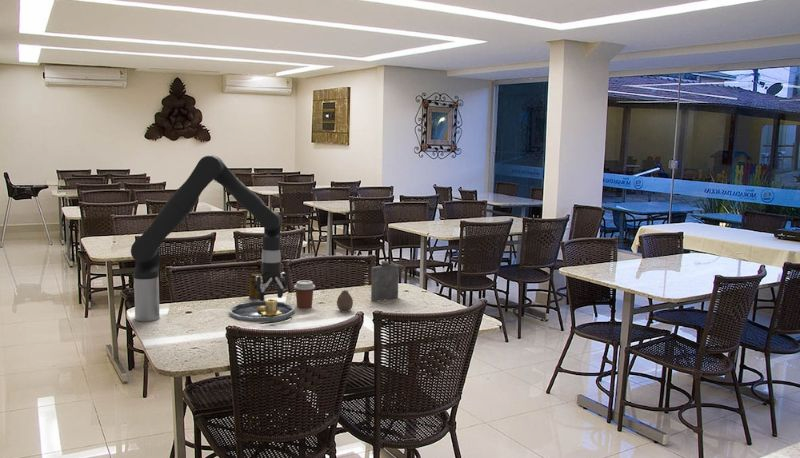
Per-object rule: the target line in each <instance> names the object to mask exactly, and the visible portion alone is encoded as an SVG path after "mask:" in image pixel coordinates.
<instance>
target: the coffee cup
mask: <svg viewBox="0 0 800 458" xmlns="http://www.w3.org/2000/svg"><path fill="white" fill-rule="evenodd" d="M293 288H294V289H295V298H296V307H297V308H299V309H312V308H313V299H314V289H315V288H316V285H315V284H314V282H313V281H312V280H305V279H304V280H298V281H296V284H294V285H293Z"/></svg>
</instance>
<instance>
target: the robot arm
mask: <svg viewBox="0 0 800 458" xmlns="http://www.w3.org/2000/svg"><path fill="white" fill-rule="evenodd" d="M212 181H215V182H217V183H218V184H220V185H221V186H222V187H223V188H224V189H225V190H227V192H228V193H229V194H230V195H231V196H232V197H233V198H234V199H235V200H236V202H238V203H239V205H240V206H242V208H243V209H245V210H246V211H247V212H249V214H251V215H252V216H253V218H254V219H255V220H256V222H258V223H259V224H260V225H261V226H262V227H263V228H264V229H263V230H264V231H263V232H264V233H263V237H262V250H261V251H262V252H261V275H262V276H255V283H254V290H256V291H258V292H259V299H258V300H259V301H265V290H266V289H267V288H268V286H275V285H276V287H277V298H278V299H281V298H282V297H283V295H284V293H283V292H284V288H287V287H288V274H287V272H284V271H281V270H282V269H281V262H282V261H281V260H282V259H281V258H282V256H281V229H282V216H281V215H280V213H279V212H278V211H276V210H271V209H270V208H269V207H268V206H267V205H266V204H265V202H264V200H262V198H260V197H259V196H258V195H257V194H256V193H255V192H253V190H251V189H250V188H249V187H247V186H246V185H245V184H244V183H243V182H242V181H241V180H240V179H238V177H236V176H235V174H234V173H233V172H232V171H231V170H230V169H229V168H228V166H227V165H226V164H225V163H224V162H223V160H222V159H221V158H220V157H218V156H217V155H213V154H212V155H210V154H209V155H205V156H203V157H201V158H200V160H199V161H198V162H197V164H196V166H195V167H194V169H193V170H192V172H191V173H190V175H189V176H188V178H187V179H186V180H185V181H184V182H183V183H182V184H181V186H179V188H178V189H177V190H176V191H175V192H174V193H173V194H172V195H171V197H170V198H169V199H168V200H167V202H166V203H165V204H164V205H163V207H162V208H161V209H160V211H159V212H158V214H157V215H156V216H155V217H154V219H153V222H152V223H151V224H150V225H149V226H148V228H147V229H146V230H145V231H144V232H143V233H142V234H141V235H140V236H139V237H138V238H137V239H136V240H135V241H134V242H133V243H132V245H131V247H130V255H131V257H132V258H133V259H134V261H135V267H134V270H133V291H134V295H133V296H134V320H135V321H137V322H154V321H157V320H159V319H160V285H159V283H160V282H159V280H160V279H159V271H160V246H161V244H162V243H163V242H164V240H165V239H166V238H167V237H168V236H169V235H170V234H171V233H172V232H173V231H175V229H176V228H178V227H179V226H180V225H181V223H183V221H184V220H185V219H186V218H187V217H188V215H189V214H190V213H191V212H192V210H193V208H194V207H195V205H196V204H197V202H198V200H199V198H200V196H201V194H202V192H203V191H204V190H205V189H206V187H208V186H209V185H210V183H211V182H212ZM280 272H281V273H280ZM261 279H262V282H261V284H260V281H261Z"/></svg>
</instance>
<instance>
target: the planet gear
mask: <svg viewBox="0 0 800 458" xmlns="http://www.w3.org/2000/svg"><path fill="white" fill-rule="evenodd" d="M264 301H265V311H264V312H261V316H262V317H273V316H278V315H282V312H281V311H277V302H278V300H277V299H275V298H269V299H266V300H264Z"/></svg>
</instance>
